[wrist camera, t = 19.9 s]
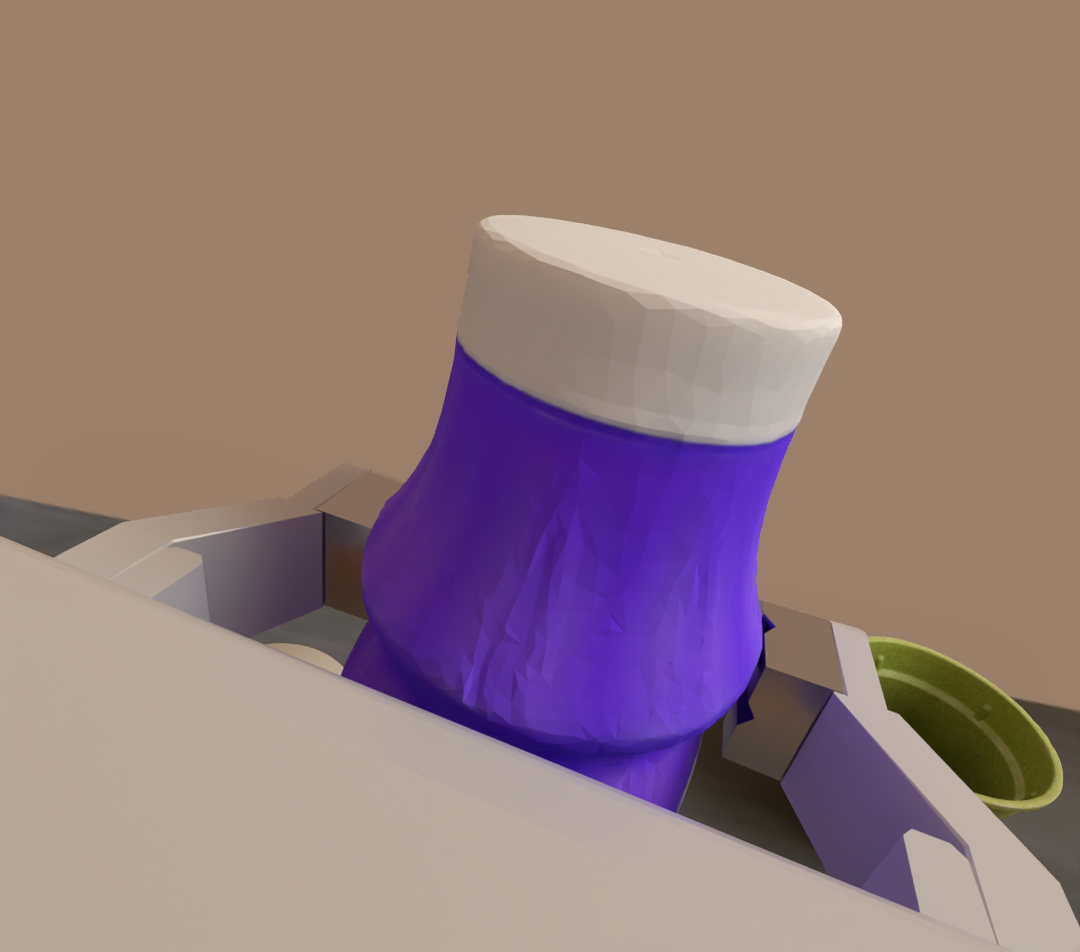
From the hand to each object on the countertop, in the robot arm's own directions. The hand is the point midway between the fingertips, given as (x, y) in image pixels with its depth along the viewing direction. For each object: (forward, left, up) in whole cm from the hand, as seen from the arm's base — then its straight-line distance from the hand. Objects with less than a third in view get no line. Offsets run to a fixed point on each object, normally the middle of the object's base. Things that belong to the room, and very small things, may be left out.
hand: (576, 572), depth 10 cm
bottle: (+1, +1, -12) cm, 12 cm away
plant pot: (-16, -17, -22) cm, 32 cm away
